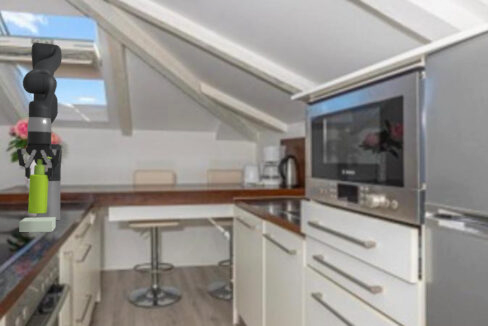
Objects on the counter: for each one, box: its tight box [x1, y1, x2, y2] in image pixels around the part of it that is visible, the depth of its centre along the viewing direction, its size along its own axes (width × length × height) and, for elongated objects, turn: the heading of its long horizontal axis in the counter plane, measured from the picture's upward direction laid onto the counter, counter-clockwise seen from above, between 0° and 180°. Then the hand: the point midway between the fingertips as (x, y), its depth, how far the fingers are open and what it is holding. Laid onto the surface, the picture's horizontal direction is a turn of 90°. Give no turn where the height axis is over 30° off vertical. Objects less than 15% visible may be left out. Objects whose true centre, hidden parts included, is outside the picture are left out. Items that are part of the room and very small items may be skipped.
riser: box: [18, 217, 57, 233], centre depth 154 cm, size 10×11×4 cm
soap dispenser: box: [27, 156, 52, 214], centre depth 144 cm, size 6×7×20 cm
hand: (39, 178), depth 144 cm, fingers closed on soap dispenser, 6 cm apart
